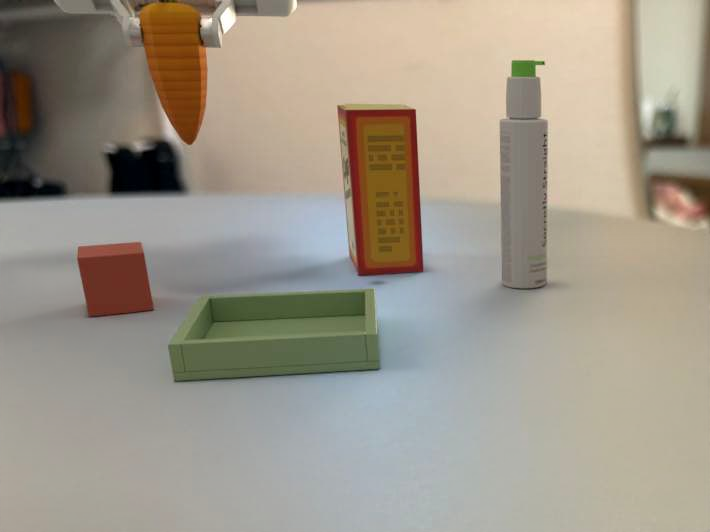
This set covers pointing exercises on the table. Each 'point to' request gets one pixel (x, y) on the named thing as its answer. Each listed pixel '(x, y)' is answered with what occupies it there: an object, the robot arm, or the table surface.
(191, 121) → the carrot
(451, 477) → the table surface
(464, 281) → the table surface
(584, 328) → the table surface
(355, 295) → the green tray
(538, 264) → the bottle
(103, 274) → the terracotta block
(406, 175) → the baking soda box
